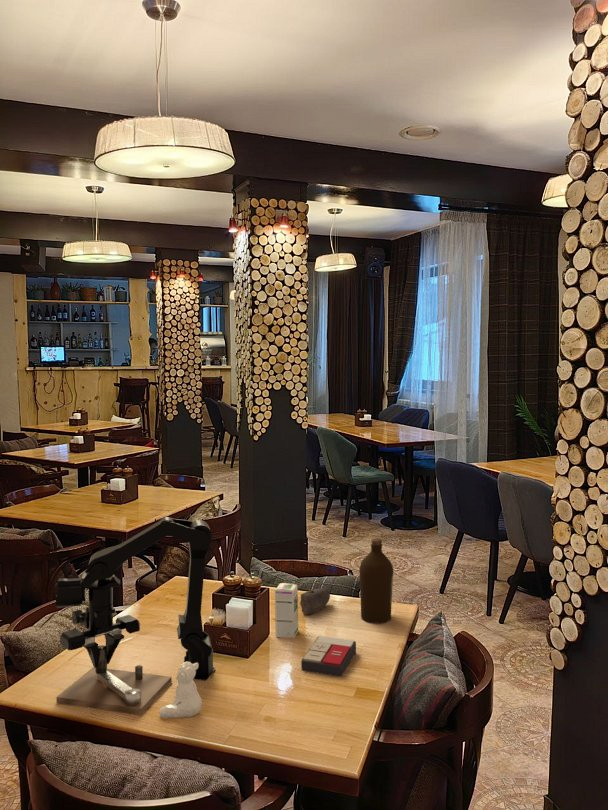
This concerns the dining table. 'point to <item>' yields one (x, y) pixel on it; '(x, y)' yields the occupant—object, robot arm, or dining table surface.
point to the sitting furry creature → (184, 695)
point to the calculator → (329, 656)
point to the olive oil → (376, 585)
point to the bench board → (102, 697)
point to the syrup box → (286, 610)
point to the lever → (115, 680)
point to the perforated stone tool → (314, 600)
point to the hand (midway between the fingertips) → (101, 665)
